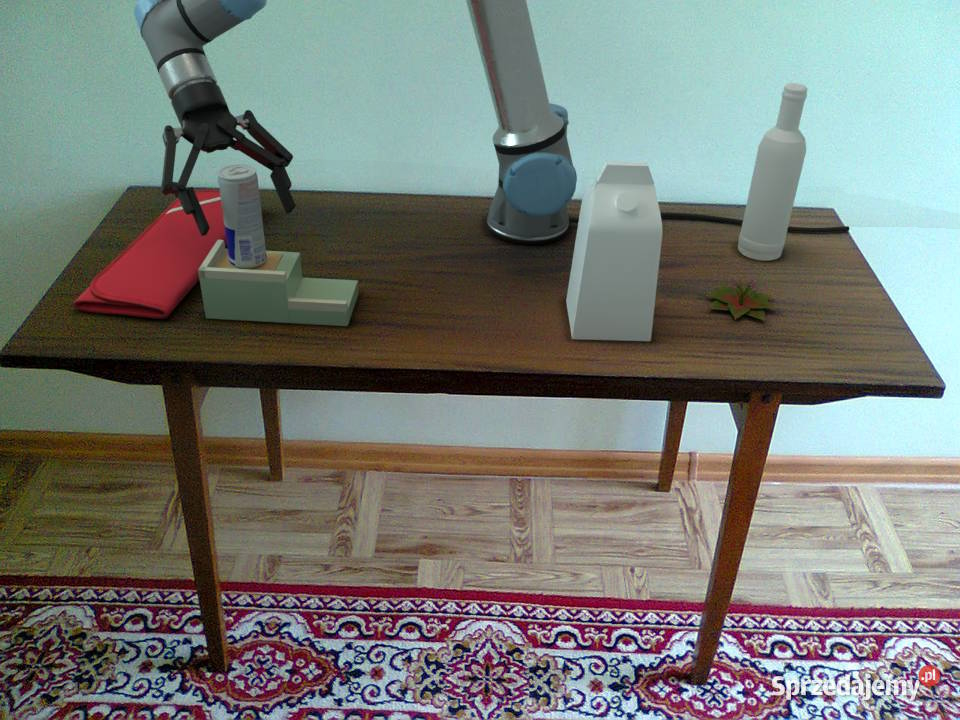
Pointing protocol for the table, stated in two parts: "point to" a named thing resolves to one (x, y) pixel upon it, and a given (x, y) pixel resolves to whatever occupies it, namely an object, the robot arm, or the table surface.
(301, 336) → the table surface
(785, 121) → the bottle
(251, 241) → the beverage can
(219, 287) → the green stepped stand
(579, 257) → the milk
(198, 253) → the dish drying mat
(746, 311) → the lily flower
